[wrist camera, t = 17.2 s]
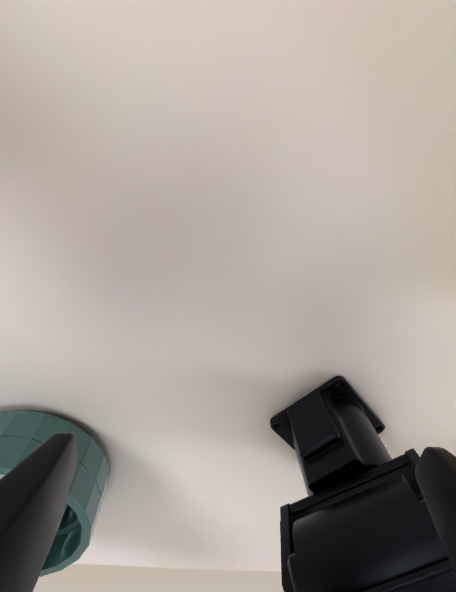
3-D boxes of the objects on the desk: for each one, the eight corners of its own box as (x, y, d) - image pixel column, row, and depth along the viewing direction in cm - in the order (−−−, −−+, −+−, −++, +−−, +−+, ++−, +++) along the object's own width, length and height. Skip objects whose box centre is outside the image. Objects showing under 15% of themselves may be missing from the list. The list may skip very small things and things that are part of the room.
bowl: (141, 463, 26) (126, 529, 22) (49, 526, 29) (19, 597, 24) (20, 377, 23) (-28, 435, 18) (-74, 459, 25) (-136, 527, 21)
